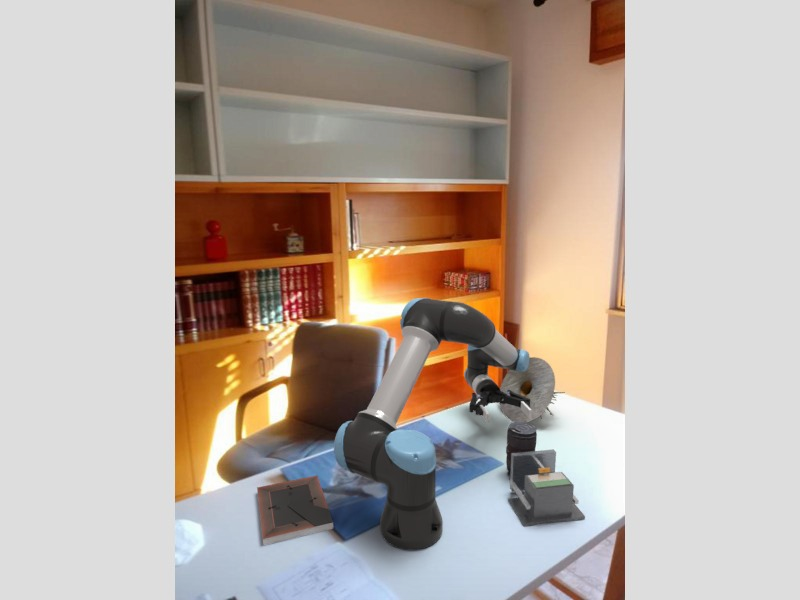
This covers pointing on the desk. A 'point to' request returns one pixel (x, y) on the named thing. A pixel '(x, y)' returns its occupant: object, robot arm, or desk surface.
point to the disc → (530, 389)
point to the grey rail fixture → (531, 469)
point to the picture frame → (293, 510)
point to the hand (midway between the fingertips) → (509, 416)
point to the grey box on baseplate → (547, 500)
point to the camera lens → (519, 440)
